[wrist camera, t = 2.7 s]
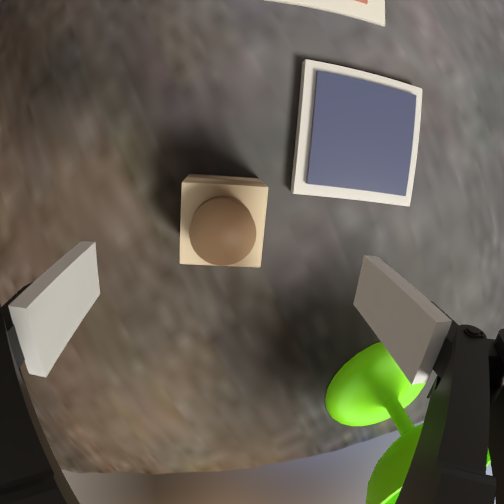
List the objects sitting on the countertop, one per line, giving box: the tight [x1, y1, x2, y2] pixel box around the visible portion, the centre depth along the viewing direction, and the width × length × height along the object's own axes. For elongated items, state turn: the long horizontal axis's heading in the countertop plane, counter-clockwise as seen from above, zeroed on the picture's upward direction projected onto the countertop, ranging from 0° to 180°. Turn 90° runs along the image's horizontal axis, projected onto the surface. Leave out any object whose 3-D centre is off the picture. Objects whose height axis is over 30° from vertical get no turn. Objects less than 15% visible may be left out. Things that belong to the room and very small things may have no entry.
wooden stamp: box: [180, 174, 268, 267], centre depth 25 cm, size 6×6×8 cm
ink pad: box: [291, 59, 422, 206], centre depth 27 cm, size 12×12×2 cm
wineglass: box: [325, 342, 491, 504], centre depth 30 cm, size 16×16×18 cm
